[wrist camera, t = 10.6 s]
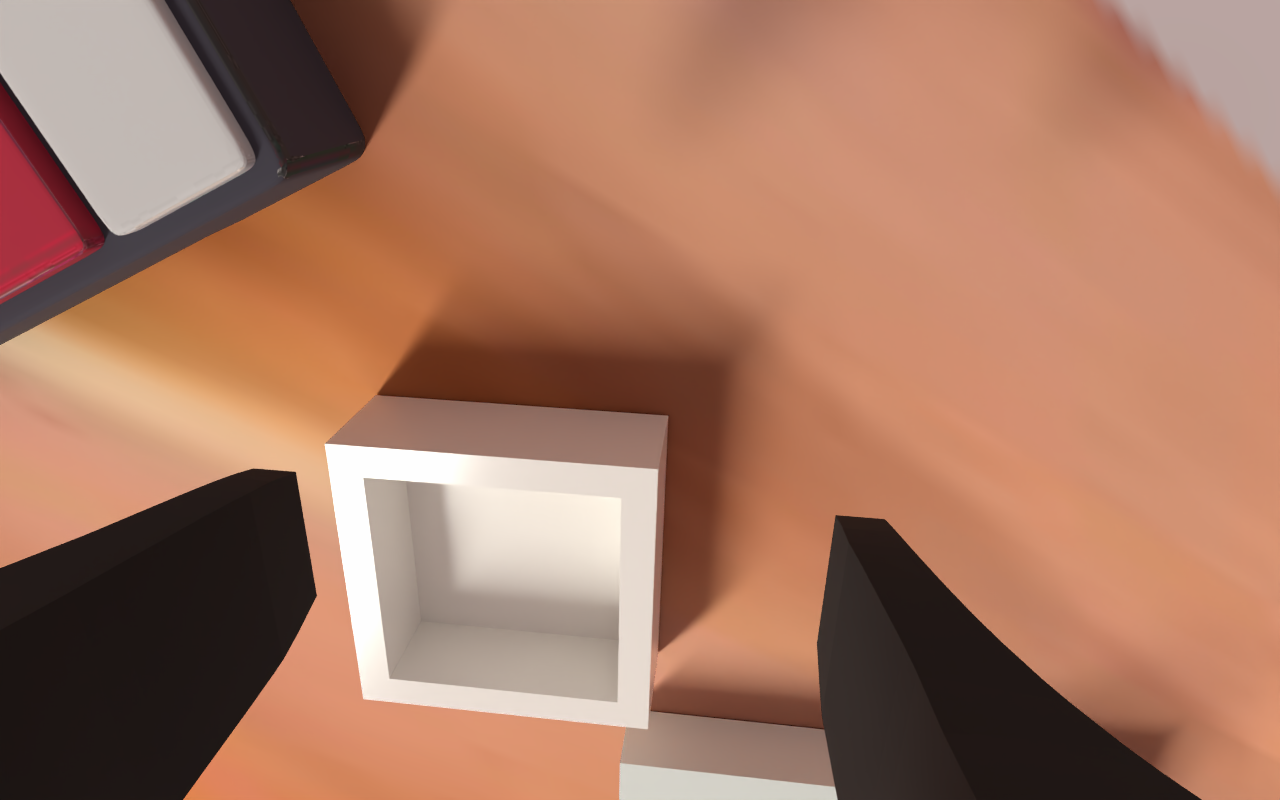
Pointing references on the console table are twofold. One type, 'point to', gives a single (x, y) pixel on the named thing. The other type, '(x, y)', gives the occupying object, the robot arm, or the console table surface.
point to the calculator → (148, 136)
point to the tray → (724, 761)
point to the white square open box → (503, 555)
